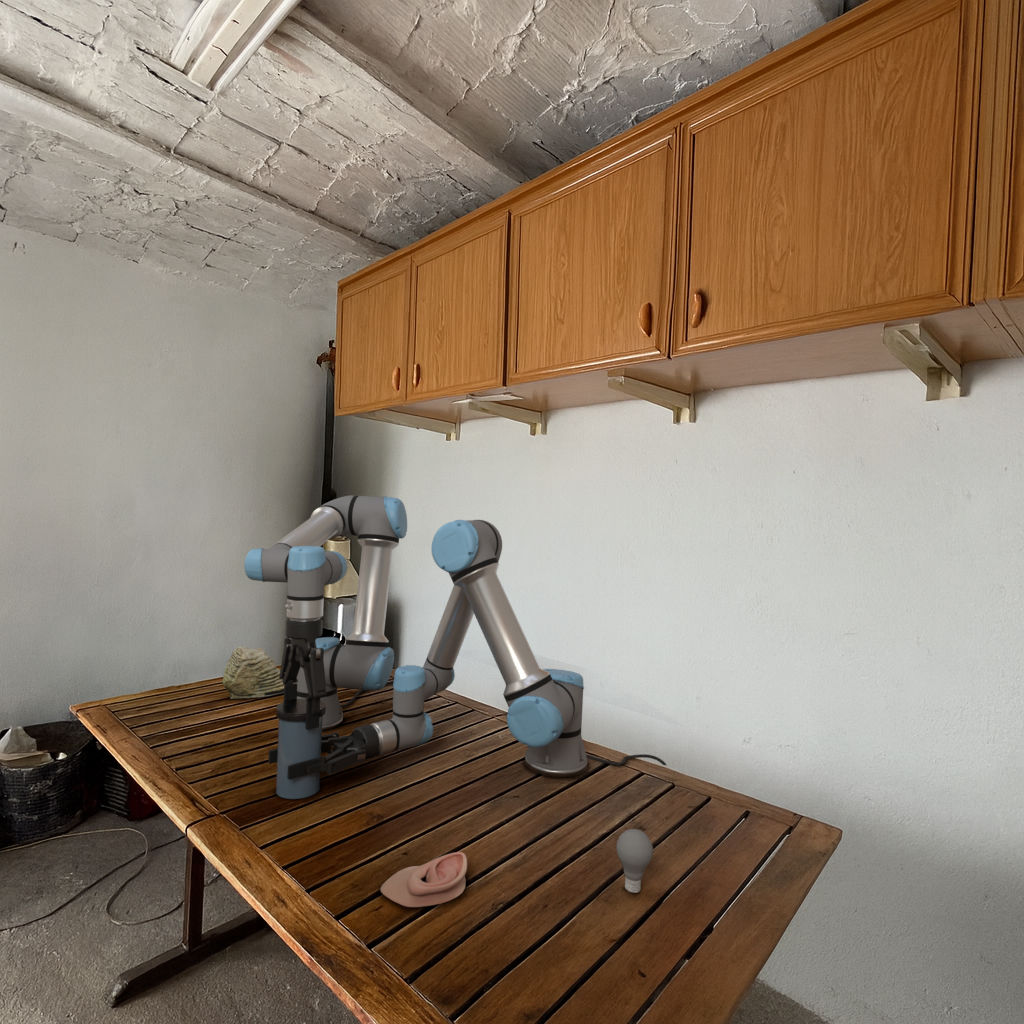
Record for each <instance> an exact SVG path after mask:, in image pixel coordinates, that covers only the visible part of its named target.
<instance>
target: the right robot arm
mask: <svg viewBox="0 0 1024 1024" xmlns="http://www.w3.org/2000/svg"><path fill="white" fill-rule="evenodd" d="M430 549H431V556H432V558H433V559H432V560H433V561H434V563H435V564H436V566H437V567H438V568H439V569H441V570H443V571H444V572H446V573H448V575H449V577H450V579H451V581H452V584H453V586H452V589H451V592H450V595H449V597H448V600H447V602H446V605H445V607H444V610H443V613H442V616H441V619H440V621H439V624H438V626H437V629H436V632H435V634H434V636H433V640H432V643H431V645H430V648H429V651H428V653H427V656H426V658H425V661H424V664H423V666H420V665H416V664H415V665H414V664H407V665H401V666H399V667H397V668H396V669H395V671H394V676H393V681H394V683H392V687H393V688H392V689H393V690H392V718H390V719H384V720H380V721H376V722H373V723H370V724H364V725H361V726H357V727H354V728H353V729H352V732H351V733H350V735H341V736H340V735H339V734H340V733H339V732H338V731H335V732H331V733H327V734H322V745H321V754H325V753H327V754H328V755H326V756H324V755H321V759H320V762H319V758H315V759H311V760H307V761H303V762H300V763H296V764H292V765H288V776H287V779H289V780H290V779H294V778H297V777H301V776H305V775H308V774H312V773H315V772H319V771H320V773H325V772H326V774H327V775H332V774H335V773H337V772H340V771H342V770H345V769H347V768H349V767H352V766H354V765H356V764H360V763H361V764H362V763H364V762H366V760H370V759H374V758H376V757H380V756H381V757H384V756H385V755H387V754H390V753H394V752H399V751H401V750H406V749H410V748H416V747H418V746H421V745H424V744H425V743H427V742H429V741H430V740H431V739H432V737H433V734H434V725H433V720H432V718H431V716H430V714H429V713H427V712H425V711H424V710H425V701H426V700H427V699H429V698H431V697H433V696H435V695H437V694H439V693H441V692H443V691H445V690H446V689H448V688H449V687H450V686H451V685H452V684H453V683H454V680H455V676H456V675H455V668H454V666H455V664H456V661H457V659H458V656H459V654H460V651H461V648H462V647H463V643H464V641H465V638H466V635H467V633H468V630H469V628H470V625H471V624H472V621H473V618H474V617H475V619H476V621H477V623H478V625H479V628H480V630H481V632H482V635H483V637H484V640H485V641H486V644H487V646H488V648H489V650H490V653H491V655H492V657H493V659H494V661H495V664H496V666H497V668H498V670H499V672H500V675H501V676H502V677H501V678H502V679H503V681H504V684H505V688H504V691H503V693H502V695H503V698H504V700H505V702H506V704H507V707H508V709H507V715H506V724H507V727H508V731H509V732H510V734H511V735H512V737H513V738H514V739H515V740H516V741H518V742H519V743H520V744H522V745H525V746H527V748H526V751H525V755H524V764H525V767H526V768H527V769H529V770H530V771H532V772H533V773H535V774H538V775H541V776H545V777H550V778H572V777H577V776H579V775H582V774H583V773H585V772H586V771H587V770H588V760H592V761H596V762H599V763H603V764H607V765H613V766H623V765H625V764H626V763H627V760H629V759H638V758H639V759H641V758H647V759H652V760H655V761H657V762H658V763H660V764H661V765H663V766H667V763H666V762H665V761H664V760H663V759H661V758H660V757H658V756H655V755H653V754H645V753H643V754H632V755H626V756H624V757H623V759H622V761H612V760H607V759H603V758H600V757H595V756H592V755H587V751H586V748H585V745H584V741H583V740H584V739H583V737H582V726H583V721H582V720H583V706H584V705H583V704H584V703H583V702H584V689H585V685H584V677H583V675H582V674H580V673H578V672H575V671H571V670H565V669H559V668H557V669H556V668H541V667H540V665H539V663H538V661H537V659H536V657H535V655H534V652H533V650H532V648H531V646H530V644H529V641H528V639H527V637H526V635H525V633H524V631H523V628H522V625H521V624H520V621H519V620H518V618H517V615H516V613H515V611H514V608H513V606H512V605H511V602H510V600H509V598H508V595H507V593H506V591H505V589H504V586H503V585H502V582H501V580H500V578H499V575H498V574H497V573H498V569H499V566H500V563H499V562H500V559H501V555H502V550H503V539H502V535H501V533H500V531H499V530H498V529H497V527H496V526H495V525H494V524H493V523H491V522H490V521H488V520H484V519H472V520H471V519H469V520H468V519H466V520H465V519H456V520H453V521H449V522H447V523H445V524H443V525H441V526H440V527H439V528H438V529H437V530H436V532H435V534H434V535H433V539H432V542H431V547H430ZM277 750H278V747H277V748H273V749H269V750H268V764H269V765H271V764H277Z"/></svg>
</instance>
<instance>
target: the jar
mask: <svg viewBox="0 0 1024 1024" xmlns="http://www.w3.org/2000/svg"><path fill="white" fill-rule="evenodd" d="M322 719H323V716H322V717H320V718H319V727H318V728H314V729H309V730H306V729H305V726H306V721H301V722H291V721H284V720H281V719H279V718H278V724H277V725H278V726H277V748H278V750H277V762H276V778H275V779H276V780H275V794H276V795H277V796H278V797H280V798H283V799H287V800H299V799H304V798H308V797H311V796H313V795H315V794H317V793H318V792H319V791H320V789H321V772H320V771H319V772H315V773H312V774H308V775H305V776H301V777H297V778H294V779H290V780H289V779H287V776H288V765H292V764H296V763H300V762H303V761H307V760H311V759H315V758H319V762H320V759H321V756H322V753H321V745H322V735H323V731H322Z"/></svg>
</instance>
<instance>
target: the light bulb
mask: <svg viewBox="0 0 1024 1024" xmlns="http://www.w3.org/2000/svg"><path fill="white" fill-rule="evenodd" d="M615 849H616V854H617V857H618V859H619V861H620V863H621V865H622V867H623V873H624V874H623V875H624V876H625V878H624V888H625V890H627V891H628V892H630V893H634V894H635V893H639V892H640V891H641V889H642V887H641V886H642V879H643V877H644V875H645V871H646V868H647V867H648V866H649V864H650V863H651V861H652V859H653V855H654V847H653V843H652V841H651V838H649V836H648V835H647V834H646V833H645V832H643V831H642V830H641V829H636V828H629V829H627V830H625V831H623V832H622V833H621V834H620V835H619V837H618V839H617V841H616V847H615Z"/></svg>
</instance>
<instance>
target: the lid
mask: <svg viewBox="0 0 1024 1024" xmlns="http://www.w3.org/2000/svg"><path fill="white" fill-rule="evenodd" d="M325 711H326V704H325V703H324V702H323V701H321V700H320V717H322V716H323V715H324V714H325ZM275 717H276V718H277V719H278V720H279V719H281V720H284V721H291V722H301V721H306V699H293V700H288V701H285V702H284V701H283V702H280V703H278V704H277V705H276V707H275Z"/></svg>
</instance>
